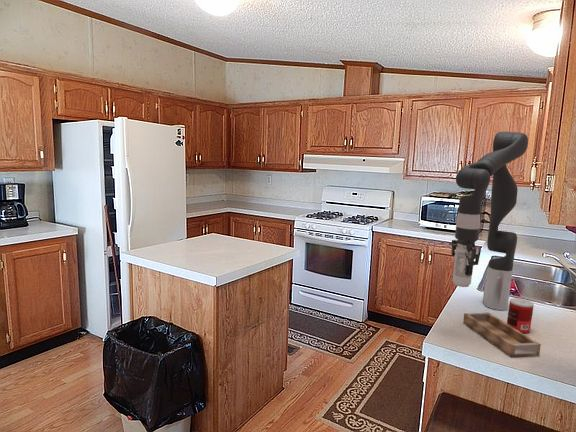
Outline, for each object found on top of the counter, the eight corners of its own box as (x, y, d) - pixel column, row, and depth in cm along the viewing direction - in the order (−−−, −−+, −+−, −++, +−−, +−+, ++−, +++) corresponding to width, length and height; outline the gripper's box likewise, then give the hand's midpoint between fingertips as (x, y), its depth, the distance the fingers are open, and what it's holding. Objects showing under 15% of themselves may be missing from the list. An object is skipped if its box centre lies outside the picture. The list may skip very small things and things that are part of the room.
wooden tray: (463, 323, 154) (464, 313, 153) (487, 322, 156) (488, 312, 155) (510, 357, 129) (512, 345, 128) (539, 355, 131) (540, 344, 130)
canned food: (532, 329, 150) (536, 302, 149) (526, 336, 145) (530, 307, 143) (510, 323, 156) (514, 296, 154) (503, 328, 150) (507, 301, 148)
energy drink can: (472, 284, 143) (476, 243, 140) (468, 288, 138) (473, 246, 135) (454, 280, 146) (458, 241, 144) (450, 285, 141) (454, 244, 139)
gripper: (490, 230, 132) (485, 278, 135) (465, 222, 146) (460, 266, 149) (470, 230, 131) (464, 279, 134) (446, 222, 145) (442, 266, 148)
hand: (462, 272), depth 141 cm, fingers closed on energy drink can, 6 cm apart
